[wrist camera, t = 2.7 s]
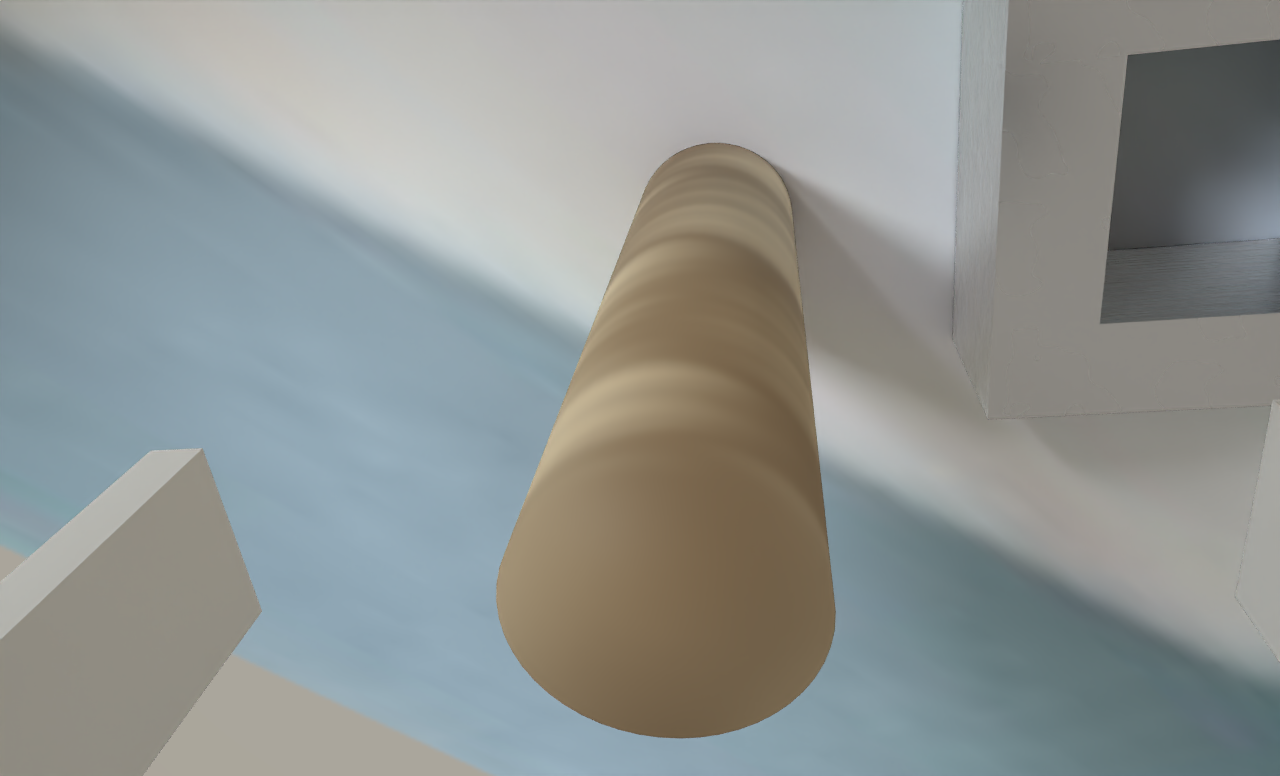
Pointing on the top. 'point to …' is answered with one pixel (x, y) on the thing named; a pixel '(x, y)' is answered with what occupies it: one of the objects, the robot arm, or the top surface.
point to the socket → (1093, 224)
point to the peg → (682, 475)
